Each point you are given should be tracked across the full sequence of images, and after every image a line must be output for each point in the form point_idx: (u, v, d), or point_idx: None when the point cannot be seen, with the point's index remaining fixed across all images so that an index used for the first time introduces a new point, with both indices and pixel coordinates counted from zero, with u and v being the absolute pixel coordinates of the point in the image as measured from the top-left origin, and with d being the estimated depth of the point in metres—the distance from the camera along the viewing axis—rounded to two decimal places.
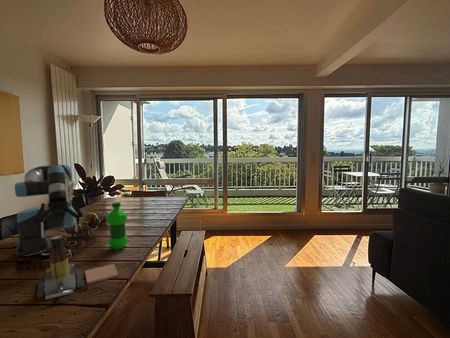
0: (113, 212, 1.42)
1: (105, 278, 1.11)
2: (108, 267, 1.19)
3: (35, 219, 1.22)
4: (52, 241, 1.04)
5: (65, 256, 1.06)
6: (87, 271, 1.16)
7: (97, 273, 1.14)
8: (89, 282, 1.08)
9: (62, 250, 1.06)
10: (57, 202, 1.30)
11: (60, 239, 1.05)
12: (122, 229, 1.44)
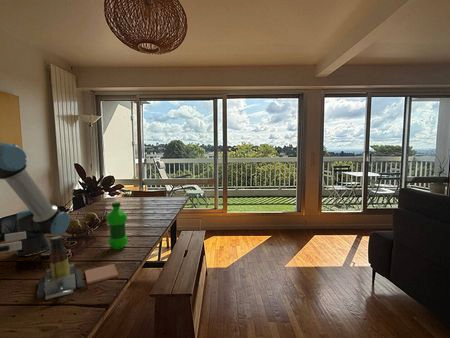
0: (113, 212, 1.42)
1: (105, 278, 1.11)
2: (108, 267, 1.19)
3: None
4: (52, 241, 1.04)
5: (65, 256, 1.06)
6: (87, 271, 1.16)
7: (97, 273, 1.14)
8: (89, 282, 1.08)
9: (62, 250, 1.06)
10: None
11: (60, 239, 1.05)
12: (122, 229, 1.44)
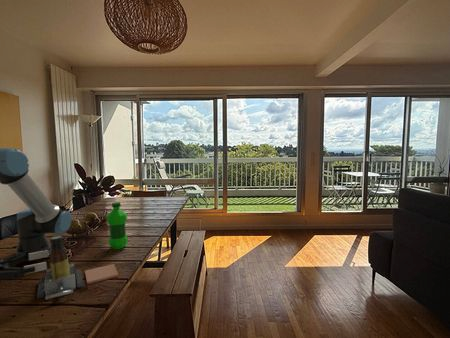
0: (113, 212, 1.42)
1: (105, 278, 1.11)
2: (108, 267, 1.19)
3: None
4: (52, 241, 1.04)
5: (65, 256, 1.06)
6: (87, 271, 1.16)
7: (97, 273, 1.14)
8: (89, 282, 1.08)
9: (62, 250, 1.06)
10: None
11: (60, 239, 1.05)
12: (122, 229, 1.44)
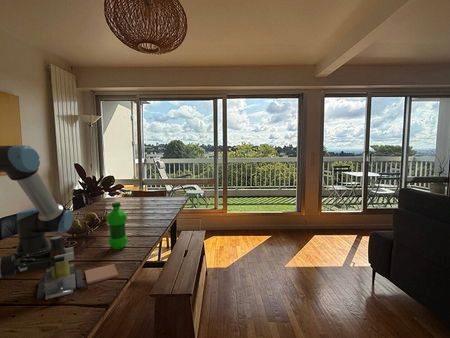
0: (113, 212, 1.42)
1: (105, 278, 1.11)
2: (108, 267, 1.19)
3: None
4: (52, 241, 1.04)
5: None
6: (87, 271, 1.16)
7: (97, 273, 1.14)
8: (89, 282, 1.08)
9: (62, 250, 1.06)
10: None
11: (60, 239, 1.05)
12: (122, 229, 1.44)
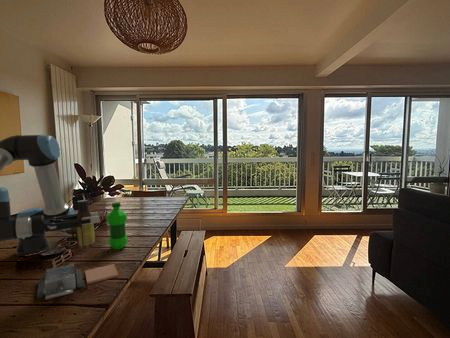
0: (113, 212, 1.42)
1: (105, 278, 1.11)
2: (108, 267, 1.19)
3: None
4: (79, 204, 1.07)
5: None
6: (87, 271, 1.16)
7: (97, 273, 1.14)
8: (89, 282, 1.08)
9: (88, 213, 1.09)
10: None
11: (86, 202, 1.08)
12: (122, 229, 1.44)
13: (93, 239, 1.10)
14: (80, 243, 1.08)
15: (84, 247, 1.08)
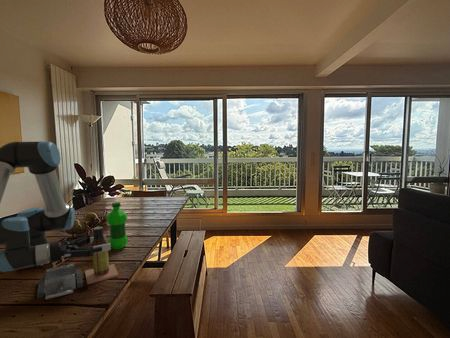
0: (113, 212, 1.42)
1: (105, 278, 1.11)
2: None
3: None
4: (95, 231, 1.12)
5: None
6: (87, 271, 1.16)
7: None
8: (89, 282, 1.08)
9: (103, 240, 1.14)
10: None
11: (102, 229, 1.13)
12: (122, 229, 1.44)
13: (107, 264, 1.15)
14: (95, 269, 1.12)
15: (99, 273, 1.12)
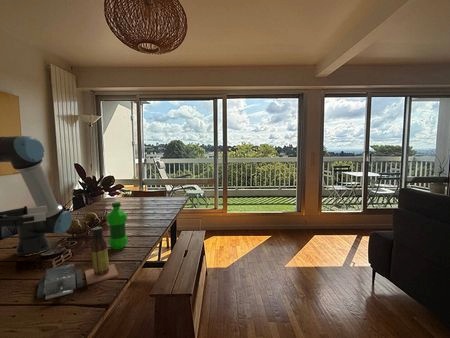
0: (113, 212, 1.42)
1: (105, 278, 1.11)
2: None
3: None
4: (94, 231, 1.12)
5: (105, 246, 1.14)
6: (87, 271, 1.16)
7: None
8: (89, 282, 1.08)
9: (102, 240, 1.14)
10: None
11: (101, 230, 1.13)
12: (122, 229, 1.44)
13: (107, 264, 1.15)
14: (95, 269, 1.12)
15: (99, 273, 1.12)
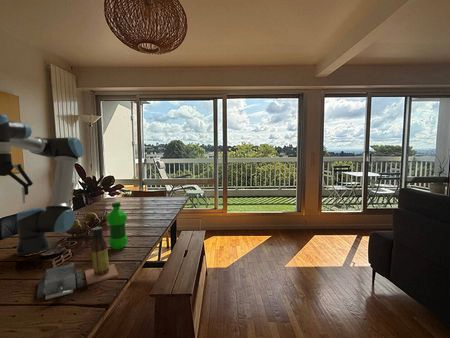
0: (113, 212, 1.42)
1: (105, 278, 1.11)
2: None
3: None
4: (94, 231, 1.12)
5: (105, 246, 1.14)
6: (87, 271, 1.16)
7: None
8: (89, 282, 1.08)
9: (102, 240, 1.14)
10: None
11: (101, 230, 1.13)
12: (122, 229, 1.44)
13: (107, 265, 1.15)
14: (95, 269, 1.12)
15: (99, 273, 1.12)
